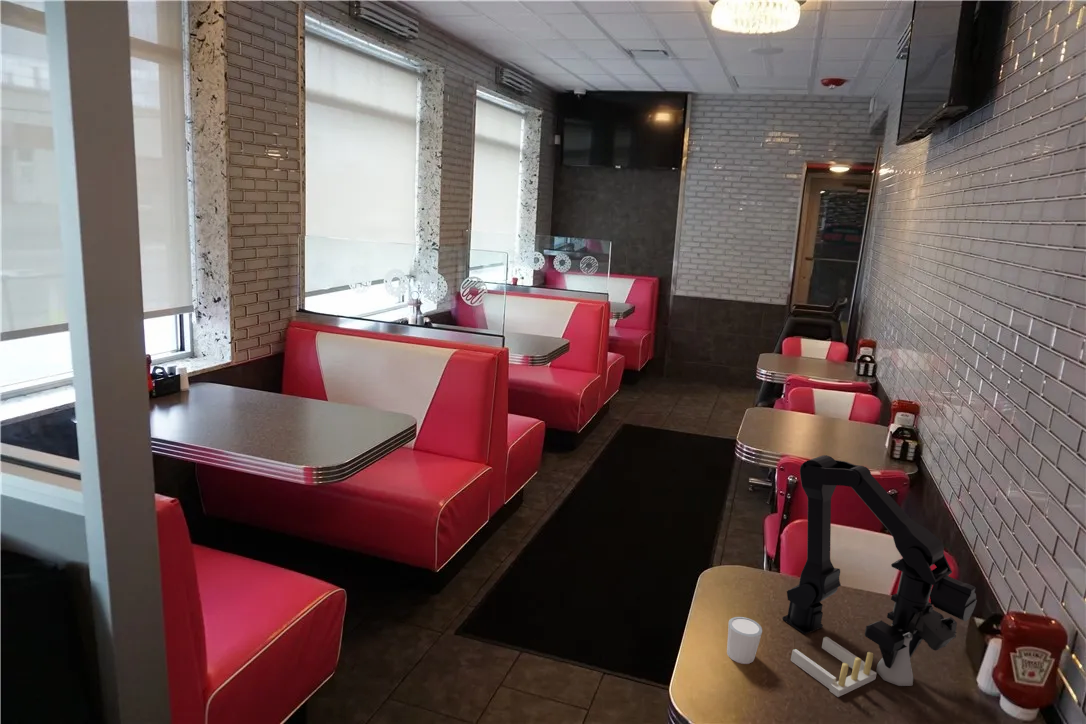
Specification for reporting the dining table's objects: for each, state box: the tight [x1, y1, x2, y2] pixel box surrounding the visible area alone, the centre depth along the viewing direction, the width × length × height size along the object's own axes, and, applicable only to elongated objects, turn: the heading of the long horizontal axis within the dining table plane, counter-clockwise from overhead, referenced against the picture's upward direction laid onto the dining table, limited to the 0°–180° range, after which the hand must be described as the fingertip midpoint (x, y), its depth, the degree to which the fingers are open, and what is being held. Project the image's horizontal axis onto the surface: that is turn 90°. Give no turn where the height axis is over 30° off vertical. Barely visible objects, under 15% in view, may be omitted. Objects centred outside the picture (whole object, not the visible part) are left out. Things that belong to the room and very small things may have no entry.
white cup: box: [726, 616, 763, 665], centre depth 152 cm, size 7×7×7 cm
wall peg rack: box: [790, 636, 878, 698], centre depth 149 cm, size 12×12×6 cm
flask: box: [875, 633, 914, 687], centre depth 149 cm, size 7×7×10 cm
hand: (897, 662), depth 149 cm, fingers open, 6 cm apart
